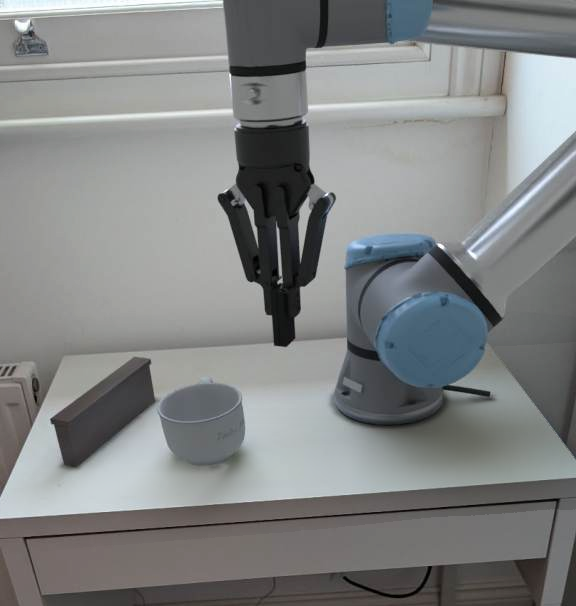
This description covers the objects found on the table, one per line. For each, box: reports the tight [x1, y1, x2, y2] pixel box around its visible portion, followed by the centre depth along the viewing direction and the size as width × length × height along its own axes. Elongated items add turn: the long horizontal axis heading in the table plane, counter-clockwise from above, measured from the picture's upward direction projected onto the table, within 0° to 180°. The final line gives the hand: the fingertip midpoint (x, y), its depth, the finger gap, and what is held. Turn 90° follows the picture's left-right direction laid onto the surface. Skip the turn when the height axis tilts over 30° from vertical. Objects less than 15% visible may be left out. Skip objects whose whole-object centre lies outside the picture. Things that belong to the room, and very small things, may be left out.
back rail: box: [49, 356, 156, 468], centre depth 111 cm, size 3×20×7 cm, turn 157°
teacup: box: [156, 376, 246, 466], centre depth 105 cm, size 14×11×8 cm
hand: (284, 341), depth 94 cm, fingers closed
